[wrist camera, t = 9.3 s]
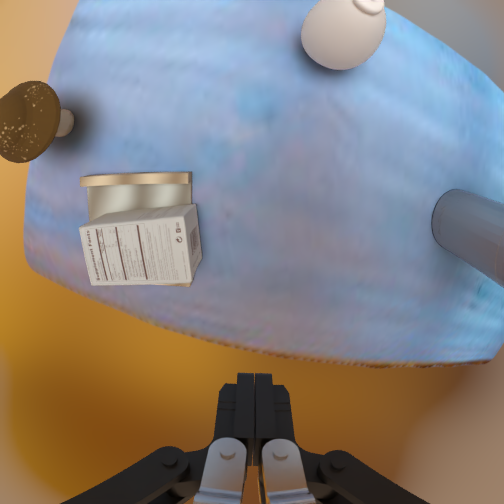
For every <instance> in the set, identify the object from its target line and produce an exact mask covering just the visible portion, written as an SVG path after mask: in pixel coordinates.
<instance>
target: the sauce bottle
mask: <svg viewBox="0 0 504 504" xmlns="http://www.w3.org/2000/svg"><path fill="white" fill-rule="evenodd" d="M384 5H385V4H384V0H320V1H319V2H318V3H317V4H316V5H315V6H314V7H313V8H312V9H311V10H310V11H309V13H308V15H307V16H306V18H305V20H304V23H303V26H302V30H301V40H302V45H303V47H304V49H305V51H306V53H307V54H308V55H309V56H310V57H311V58H312V59H313V60H314V61H315V62H317V63H318V64H320V65H322V66H324V67H327V68H330V69H334V70H347V69H351V68H354V67H356V66H358V65H361V64H362V63H364V62H365V61H366V60H367V59H369V58H370V57H371V56H372V55H373V54H374V52H375V51H376V50H377V49H378V47H379V45H380V43H381V41H382V39H383V36H384V33H385V28H386V14H385V10H384Z"/></svg>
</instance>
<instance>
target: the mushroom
mask: <svg viewBox="0 0 504 504" xmlns="http://www.w3.org/2000/svg"><path fill="white" fill-rule="evenodd" d="M73 126H74V116H73V114H72V113H71V111H69V110H67V109H61V107H60V102H59V99H58V97H57V95H56V93H55V91H54V90H53V89H52V88H51V87H50V86H49V85H48V84H46V83H43V82H41V81H28V82H25V83H21V84H19V85H18V86H16V87H14V88H13V89H12V90H10V91H9V93H7V94H6V95H5V96H3V97H2V98H1V99H0V155H1V156H2V157H3V158H5V159H7V160H8V161H11V162H16V163H24V162H29V161H31V160H33V159H36V158H37V157H38V156H39V155H41V154H42V153H43V152H44V151H45V150H46V149H47V148H48V147H49V145H50V144H51V143H52V141H53V139H54V137H55V136H56V137H64V136H66V135H67V134H69V133H70V132H71V130H72V129H73Z"/></svg>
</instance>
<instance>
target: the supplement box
mask: <svg viewBox="0 0 504 504" xmlns="http://www.w3.org/2000/svg"><path fill="white" fill-rule="evenodd" d="M79 231H80V236H81V241H82V246H83V251H84V256H85V261H86V265H87V269H88V273H89V277H90V281H91V284H92V286H94V285H151V284H179V283H191V282H192V280H193V276H194V274H195V271H196V269H197V267H198V265H199V262H200V261H201V259H202V252H201V243H200V235H199V226H198V217H197V208H196V204H189V205H178V206H167V207H157V208H147V209H138V210H129V211H120V212H112V213H106V214H104V215H102V216H100V217H98V218H96V219H94V220H92V221H90V222H88V223H86V224H84V225H82V226H80V227H79Z"/></svg>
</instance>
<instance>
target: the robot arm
mask: <svg viewBox="0 0 504 504" xmlns="http://www.w3.org/2000/svg"><path fill="white" fill-rule="evenodd" d="M432 230H433V234H434V237H435V239H436V241H437V242H438V243H439V245H441V246H442V247H444V248H445V249H447V250H448V251H450V252H451V253H453V254H455V255H456V256H458V257H459V258H461V259H462V260H464V261H465V262H467V263H468V264H470V265H471V266H473V267H474V268H476V269H477V270H479V271H480V272H482V273H483V274H485V275H486V276H487V277H489V278H490V279H492V280H493V281H495V282H496V283H497V284H499V285H500V286H502V287H503V288H504V204H502V203H500V202H497V201H494V200H491V199H488V198H485V197H482V196H479V195H476V194H473V193H469V192H466V191H463V190H458V189H455V190H451V191H448V192H447V193H445V194H444V195H443V196H442V197H441V198H440V200H439V201H438V203H437V205H436V207H435V210H434V213H433V219H432ZM252 454H253V466H258V470H259V471H258V489H259V498H260V504H430V503H427V502H426V501H424V500H422V499H420V498H419V497H417V496H415V495H414V494H411V493H410V492H408V491H407V490H405V489H403V488H402V487H400V486H398V485H397V484H395V483H393V482H392V481H390V480H389V479H387V478H385V477H384V476H382V475H380V474H379V473H378V472H376V471H375V470H373V469H371V468H370V467H368V466H367V465H365V464H364V463H362V462H361V461H360V460H358V459H356V458H355V457H354V456H352V455H351V454H349V453H348V452H345V451H342V450H335V451H330V452H328V453H326V454H325V455H320V454H315V453H310V452H307V451H305V450H303V449H302V448H300V447H299V446H298V444H297V443H296V441H295V437H294V429H293V421H292V413H291V405H290V397H289V393H288V391H287V390H286V388H285V387H284V385H273V384H272V374H263V373H255V383H254V373H238V375H237V384H227V383H226V384H225V385H224V386H223V387H222V389H221V390H220V391H219V398H218V406H217V415H216V423H215V431H214V438H213V440H212V442H211V443H210V444H209V445H208V446H207V447H206V448H204V449H201V450H198V451H192V452H185V453H184V452H183V451H182V450H181V449H179V448H176V447H172V446H166V447H162V448H159V449H157V450H156V451H154V452H153V453H151V454H150V455H148V456H146V457H145V458H143V459H142V460H140V461H138V462H137V463H135V464H133V465H132V466H130V467H128V468H127V469H125V470H123V471H122V472H120V473H118V474H116V475H115V476H113V477H111V478H110V479H108V480H106V481H104V482H102V483H100V484H99V485H97V486H95V487H93V488H91V489H89V490H87V491H85V492H83V493H81V494H79V495H77V496H75V497H73V498H71V499H69V500H67V501H65V502H63V503H61V504H184V503H185V502H186V501H188V500H189V499H190V498H192V497H193V496H195V498H194V502H193V504H242V499H243V492H244V483H245V481H246V477H247V466H251V465H252Z"/></svg>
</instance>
